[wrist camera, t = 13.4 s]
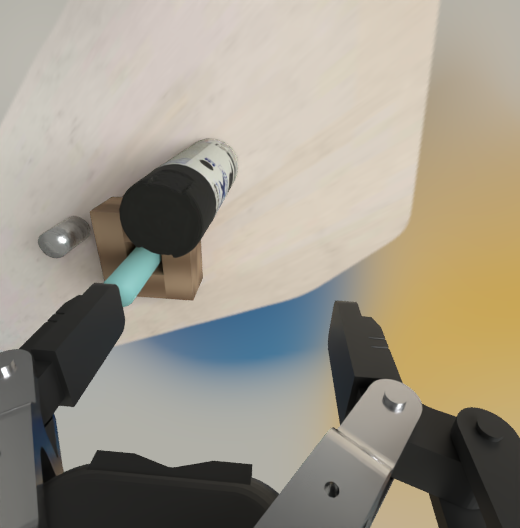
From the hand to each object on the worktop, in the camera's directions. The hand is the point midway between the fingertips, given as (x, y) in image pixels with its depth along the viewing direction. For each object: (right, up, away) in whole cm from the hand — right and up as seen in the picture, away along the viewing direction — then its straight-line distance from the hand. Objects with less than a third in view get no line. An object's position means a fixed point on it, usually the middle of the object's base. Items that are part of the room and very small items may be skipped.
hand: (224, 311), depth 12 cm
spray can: (-5, +14, +30) cm, 34 cm away
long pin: (-13, +5, +36) cm, 39 cm away
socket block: (-13, +5, +36) cm, 39 cm away
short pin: (-25, +7, +36) cm, 44 cm away
